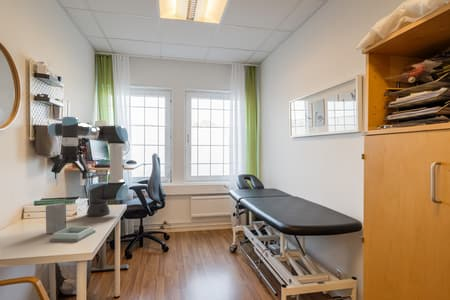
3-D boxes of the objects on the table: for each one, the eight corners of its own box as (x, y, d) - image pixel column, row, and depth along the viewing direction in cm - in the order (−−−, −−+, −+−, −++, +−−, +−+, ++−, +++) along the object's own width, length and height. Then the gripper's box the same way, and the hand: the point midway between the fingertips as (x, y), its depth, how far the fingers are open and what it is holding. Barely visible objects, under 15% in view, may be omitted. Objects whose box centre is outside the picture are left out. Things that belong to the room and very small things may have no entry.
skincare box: (55, 234, 144) (55, 205, 144) (44, 233, 145) (44, 205, 145) (67, 229, 152) (67, 202, 152) (57, 229, 154) (57, 202, 154)
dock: (70, 231, 148) (70, 225, 148) (95, 232, 147) (95, 225, 147) (49, 241, 132) (49, 234, 132) (77, 242, 131) (77, 235, 131)
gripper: (43, 145, 136) (43, 186, 136) (88, 145, 134) (88, 186, 134) (53, 146, 143) (54, 184, 143) (96, 145, 141) (96, 184, 141)
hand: (70, 185), depth 139 cm, fingers open, 13 cm apart
